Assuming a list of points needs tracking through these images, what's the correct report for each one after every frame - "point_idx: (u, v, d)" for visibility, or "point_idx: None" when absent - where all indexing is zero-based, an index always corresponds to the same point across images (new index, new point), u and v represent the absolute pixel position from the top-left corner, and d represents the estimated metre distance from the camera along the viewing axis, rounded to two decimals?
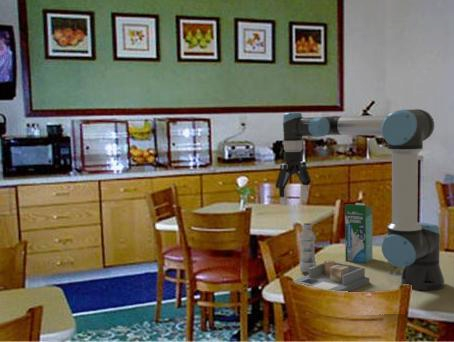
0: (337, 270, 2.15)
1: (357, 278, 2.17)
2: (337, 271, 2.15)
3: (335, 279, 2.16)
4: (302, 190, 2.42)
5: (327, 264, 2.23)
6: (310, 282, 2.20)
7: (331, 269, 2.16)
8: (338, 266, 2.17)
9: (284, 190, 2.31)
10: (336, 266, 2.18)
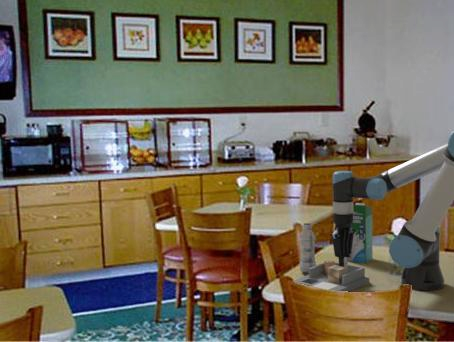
0: (335, 271, 2.14)
1: (357, 278, 2.17)
2: (335, 272, 2.14)
3: (333, 280, 2.15)
4: None
5: (327, 264, 2.23)
6: (310, 282, 2.20)
7: (329, 269, 2.16)
8: (336, 267, 2.17)
9: (344, 259, 2.18)
10: (334, 266, 2.17)
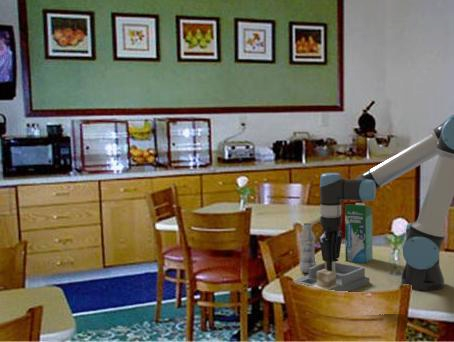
0: (324, 275, 2.09)
1: (357, 278, 2.17)
2: (324, 276, 2.09)
3: (322, 284, 2.10)
4: None
5: None
6: (310, 282, 2.20)
7: (318, 273, 2.11)
8: (325, 270, 2.12)
9: (332, 263, 2.12)
10: (323, 270, 2.12)
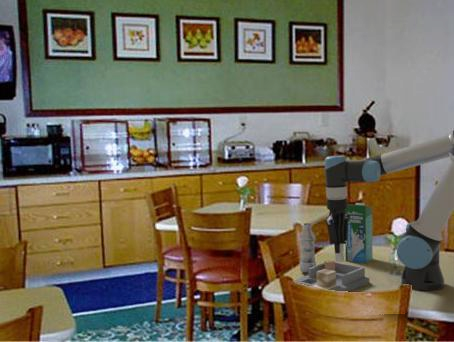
0: (324, 275, 2.09)
1: (357, 278, 2.17)
2: (324, 276, 2.09)
3: (322, 284, 2.10)
4: None
5: (327, 264, 2.23)
6: (310, 282, 2.20)
7: (318, 273, 2.11)
8: (325, 271, 2.12)
9: (340, 246, 2.14)
10: (323, 270, 2.12)
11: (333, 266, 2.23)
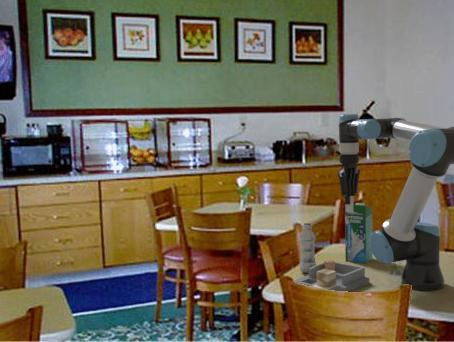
0: (324, 275, 2.09)
1: (357, 278, 2.17)
2: (324, 276, 2.09)
3: (322, 284, 2.10)
4: None
5: (327, 264, 2.23)
6: (310, 282, 2.20)
7: (318, 273, 2.11)
8: (325, 271, 2.12)
9: (350, 197, 2.31)
10: (323, 270, 2.12)
11: (333, 266, 2.23)
